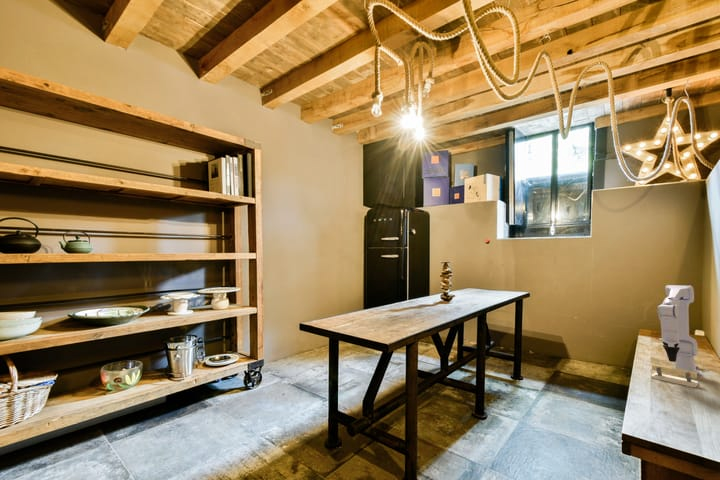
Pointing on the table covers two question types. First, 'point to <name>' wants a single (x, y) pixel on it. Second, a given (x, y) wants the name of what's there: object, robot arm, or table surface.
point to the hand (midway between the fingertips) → (671, 359)
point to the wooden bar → (674, 371)
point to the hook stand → (675, 378)
